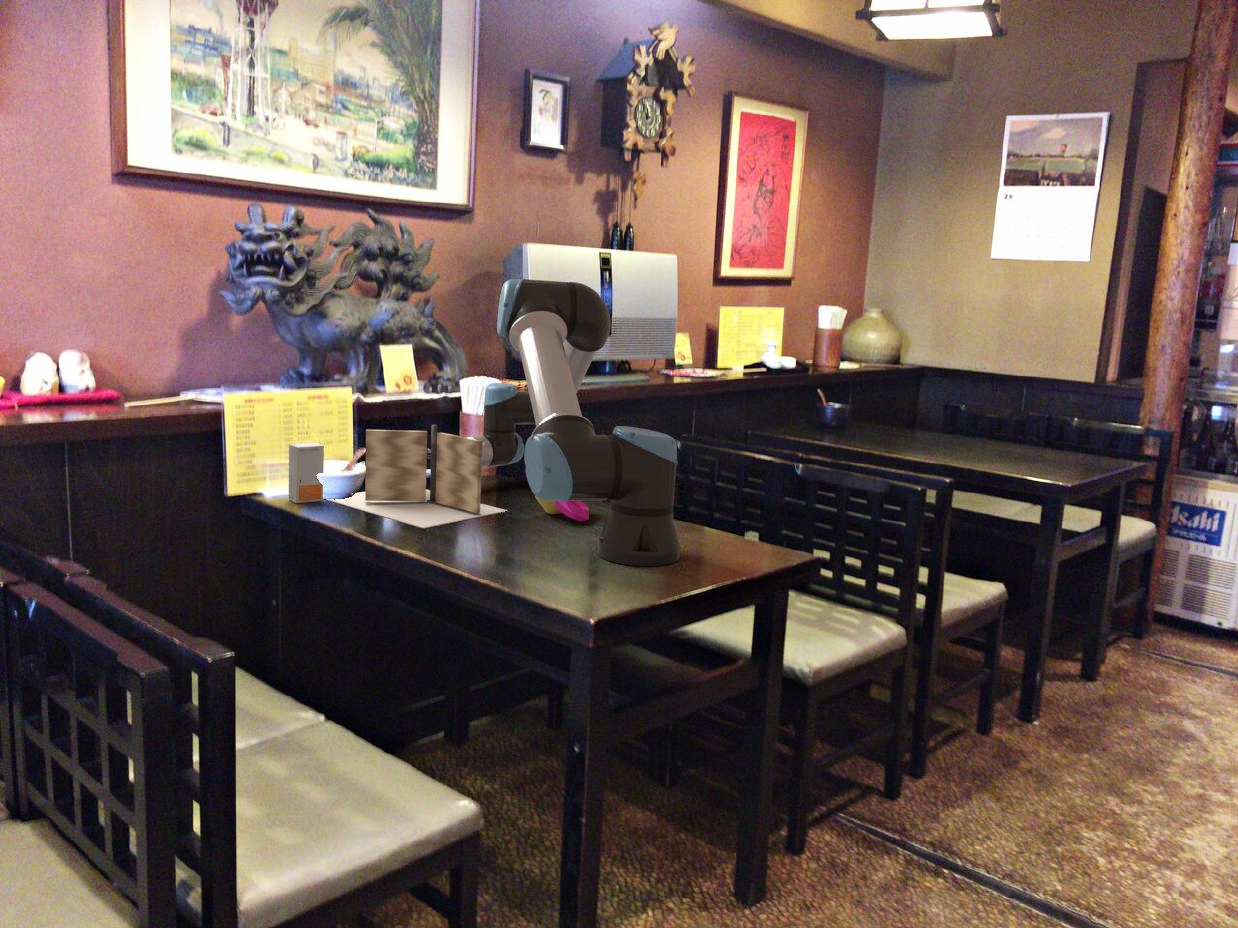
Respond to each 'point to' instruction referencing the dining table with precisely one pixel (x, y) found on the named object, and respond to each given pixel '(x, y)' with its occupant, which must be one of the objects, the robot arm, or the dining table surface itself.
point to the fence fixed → (455, 471)
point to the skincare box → (305, 472)
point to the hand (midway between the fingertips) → (385, 465)
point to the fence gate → (395, 465)
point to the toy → (566, 508)
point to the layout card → (415, 510)
